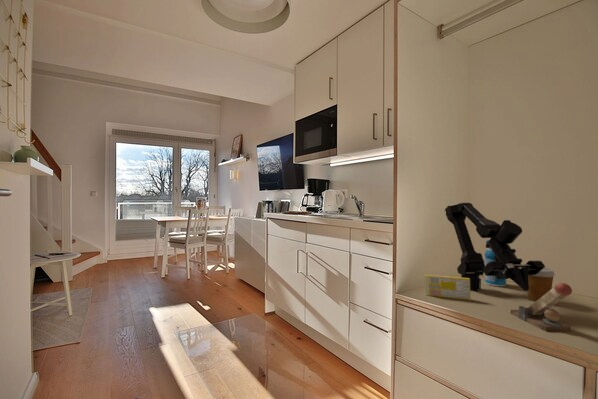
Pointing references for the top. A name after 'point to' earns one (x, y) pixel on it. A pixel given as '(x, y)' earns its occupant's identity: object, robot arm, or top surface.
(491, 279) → the beverage bottle
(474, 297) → the top surface
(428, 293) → the candy box
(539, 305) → the lever
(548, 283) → the disposable coffee cup
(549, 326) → the base
